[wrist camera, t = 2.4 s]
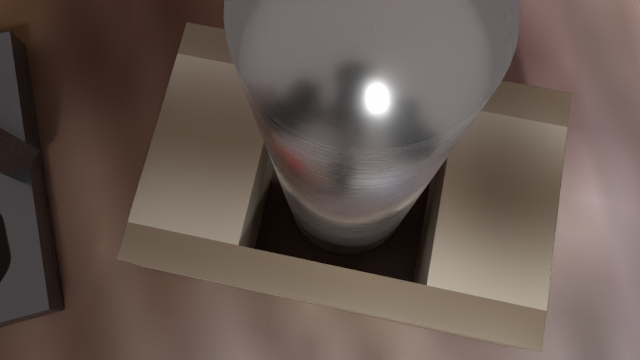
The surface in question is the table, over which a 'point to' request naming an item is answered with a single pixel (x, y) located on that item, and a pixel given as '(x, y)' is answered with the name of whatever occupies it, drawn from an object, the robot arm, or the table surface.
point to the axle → (365, 100)
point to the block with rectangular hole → (341, 283)
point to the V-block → (24, 197)
